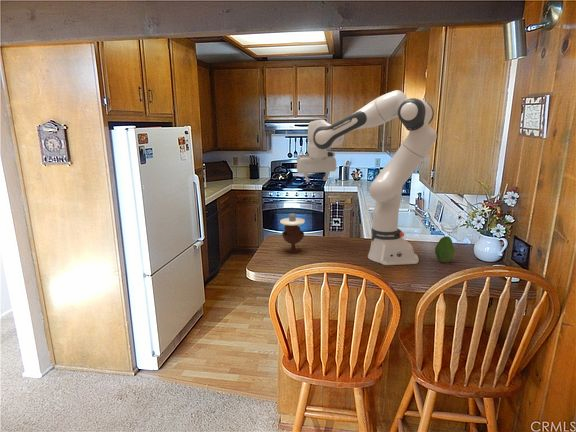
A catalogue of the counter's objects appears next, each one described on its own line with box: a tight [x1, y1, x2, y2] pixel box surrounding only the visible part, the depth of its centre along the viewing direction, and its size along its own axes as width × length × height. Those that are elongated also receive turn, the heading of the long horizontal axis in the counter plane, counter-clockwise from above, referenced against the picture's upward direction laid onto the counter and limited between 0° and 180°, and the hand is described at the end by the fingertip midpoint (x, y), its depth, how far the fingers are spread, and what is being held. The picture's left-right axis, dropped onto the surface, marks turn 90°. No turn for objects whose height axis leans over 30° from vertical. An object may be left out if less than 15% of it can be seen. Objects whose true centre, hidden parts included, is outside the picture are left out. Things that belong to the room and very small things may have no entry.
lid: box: [279, 213, 306, 226], centre depth 179 cm, size 12×12×4 cm
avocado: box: [434, 235, 455, 264], centre depth 164 cm, size 8×8×12 cm
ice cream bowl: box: [281, 225, 305, 254], centre depth 181 cm, size 11×11×15 cm
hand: (316, 181), depth 185 cm, fingers open, 8 cm apart
